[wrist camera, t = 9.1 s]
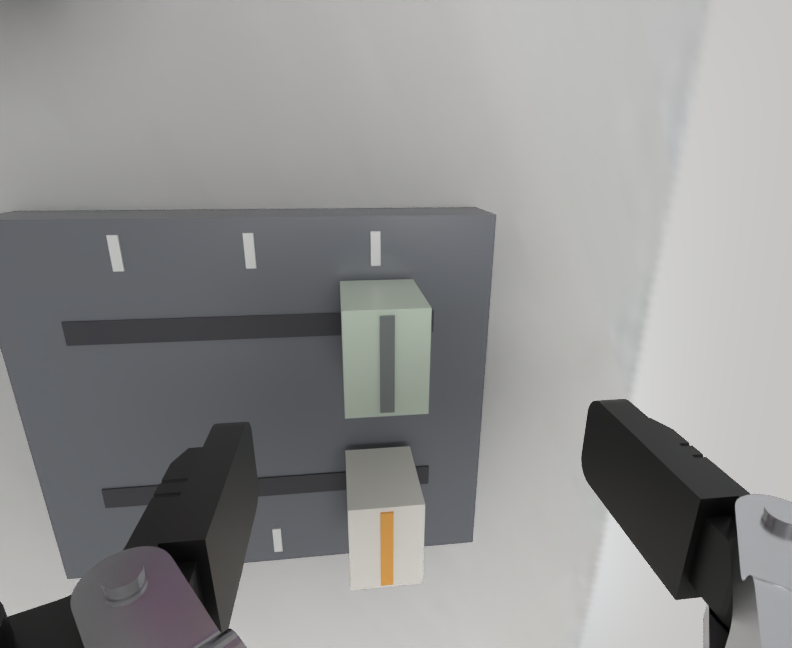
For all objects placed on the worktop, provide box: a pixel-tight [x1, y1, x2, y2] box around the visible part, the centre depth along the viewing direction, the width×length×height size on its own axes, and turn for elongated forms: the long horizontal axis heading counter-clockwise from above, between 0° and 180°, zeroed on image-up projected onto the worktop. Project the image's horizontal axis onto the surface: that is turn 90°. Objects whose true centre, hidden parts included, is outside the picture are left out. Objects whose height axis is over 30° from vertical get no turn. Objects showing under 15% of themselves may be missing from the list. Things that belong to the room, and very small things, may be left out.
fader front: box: [340, 279, 432, 419], centre depth 18 cm, size 3×4×4 cm
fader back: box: [345, 446, 425, 590], centre depth 21 cm, size 3×4×4 cm
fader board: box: [0, 207, 496, 579], centre depth 23 cm, size 20×17×3 cm
